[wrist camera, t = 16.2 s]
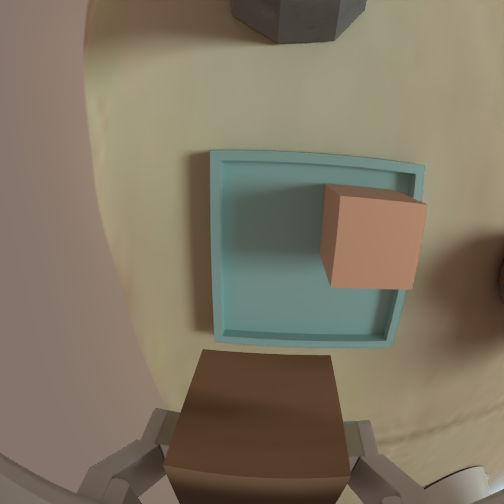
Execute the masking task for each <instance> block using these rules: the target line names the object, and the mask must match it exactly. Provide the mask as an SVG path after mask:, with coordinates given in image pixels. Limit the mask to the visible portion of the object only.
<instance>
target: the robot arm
mask: <svg viewBox="0 0 504 504" xmlns="http://www.w3.org/2000/svg"><path fill="white" fill-rule="evenodd" d="M179 416H180V412H175V411H170V410H164V409H159V408H156V409H155V410H154V411H153V413H152V415H151V418H150V420H149V422H148V424H147V427H146V429H145V431H144V434H143V436H142V438H141V440H135V441H134V442H132V443H131V444H129V445H127V446H126V447H124V448H122V449H121V450H119V451H118V452H116V453H114V454H112V455H111V456H109V457H107V458H106V459H104V460H102V461H100V462H99V463H97V464H95V465H93V466H92V467H90V468H89V470H88V472H87V474H86V476H85V478H84V480H83V482H82V484H81V486H80V488H79V490H78V492H77V494H76V493H74V492H72V491H70V490H67V489H65V488H63V487H61V486H59V485H57V484H55V483H53V482H50V481H48V480H47V479H45V478H43V477H41V476H39V475H37V474H35V473H33V472H32V471H30V470H28V469H26V468H24V467H23V466H21V465H19V464H18V463H16V462H14V461H13V460H11V459H9V458H8V457H6V456H5V455H3V454H2V453H0V504H142V503H141V502H140V500H139V499H138V497H139V496H140V495H142V494H143V493H144V492H145V491H147V490H148V489H149V488H150V487H151V486H153V485H154V484H155V483H156V482H157V481H159V480H160V479H161V478H162V477H163V476H164V475H166V471H165V469H164V467H163V462H164V459H165V457H166V454H167V451H168V448H169V445H170V442H171V439H172V436H173V433H174V430H175V427H176V425H177V422H178V419H179ZM343 425H344V431H345V437H346V444H347V450H348V456H349V463H350V470H351V478H350V479H349V481H348V483H347V484H348V485H349V486H350V487H351V489H352V490H353V491H354V492H355V493H356V495H357V496H358V497H359V498H360V499H361V501H362V502H363V503H364V504H504V489H503V490H501V491H498V492H496V493H494V494H492V495H490V491H489V487H488V483H487V481H488V479H489V476H488V474H486V473H485V471H484V468H483V467H473V468H469V469H466V470H463V471H461V472H458V473H456V474H453V475H451V476H449V477H447V478H445V479H443V480H441V481H439V482H437V483H435V484H433V485H431V486H430V487H428V488H426V489H425V490H424V488H423V487H421V486H420V485H419V484H418V483H416V482H415V481H414V480H413V479H412V478H410V477H409V476H408V475H407V474H406V473H404V472H403V471H402V470H401V469H400V468H398V467H397V466H396V465H395V464H394V463H392V462H391V461H390V460H389V459H388V458H387V457H385V456H384V455H383V454H380V455H379V452H378V448H377V444H376V440H375V436H374V432H373V428H372V424H371V422H370V421H369V420H365V421H345V422H343Z"/></svg>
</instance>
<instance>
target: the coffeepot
mask: <svg viewBox="0 0 504 504" xmlns="http://www.w3.org/2000/svg"><path fill="white" fill-rule="evenodd" d="M365 6H366V0H231V8H232V15H233V17H235V18H237V19H239V20H240V21H242V22H244V23H245V24H247V25H248V26H249V27H251V28H252V29H254V30H255V31H257V32H259V33H261V34H263V35H265V36H267V37H268V38H270V39H271V40H273V41H274V42H276V43H277V44H280V43H311V42H319V41H335V40H336V39H337V38H338V37H339V36H340V35H341V33H342V32H344V31H345V30H346V29H347V28H348V27H349V26H350V24H351V23H352V22H353V21H354V20H355V19H356V18H357V17H358V16H359V15H360V14H361V13H362V12H363V11H364V10H365Z"/></svg>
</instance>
